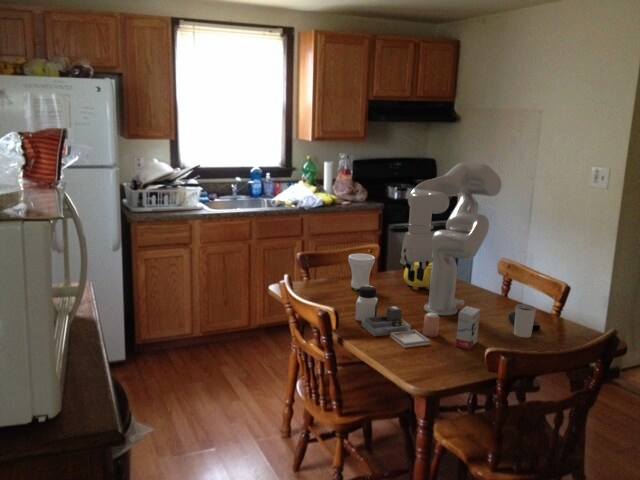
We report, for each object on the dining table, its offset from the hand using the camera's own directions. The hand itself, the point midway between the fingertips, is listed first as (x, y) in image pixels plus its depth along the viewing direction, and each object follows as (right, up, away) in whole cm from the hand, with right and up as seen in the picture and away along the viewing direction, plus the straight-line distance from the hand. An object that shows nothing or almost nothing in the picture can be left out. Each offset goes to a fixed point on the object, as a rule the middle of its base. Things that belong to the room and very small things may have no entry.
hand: (415, 279), depth 203 cm
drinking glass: (+38, -19, 0) cm, 42 cm away
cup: (-16, -7, +44) cm, 48 cm away
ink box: (+15, -21, -10) cm, 28 cm away
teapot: (+11, -7, +50) cm, 51 cm away
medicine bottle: (-16, -15, +10) cm, 24 cm away
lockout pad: (-3, -20, -9) cm, 22 cm away
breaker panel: (-10, -17, 0) cm, 20 cm away
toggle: (-8, -14, 0) cm, 16 cm away
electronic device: (+41, -17, +11) cm, 46 cm away
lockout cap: (+5, -19, -3) cm, 19 cm away
